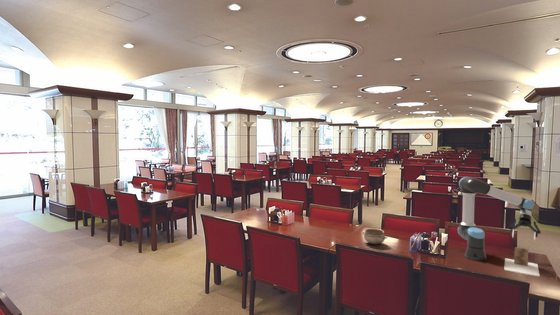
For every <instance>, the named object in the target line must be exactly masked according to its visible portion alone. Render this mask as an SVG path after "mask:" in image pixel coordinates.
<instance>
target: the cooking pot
mask: <svg viewBox="0 0 560 315" xmlns="http://www.w3.org/2000/svg"><path fill="white" fill-rule="evenodd" d="M361 234H362V235H363V238H364V240H365V241H366V242H367V243H369V244H370V245H373V246H378V245H380V244H382V243H384V241H385V239H388V237H387V236H386V235H385V231H384V230H382V229H380V228H366V229H364V231H362V232H361Z"/></svg>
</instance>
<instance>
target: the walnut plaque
mask: <svg viewBox="0 0 560 315" xmlns="http://www.w3.org/2000/svg"><path fill="white" fill-rule="evenodd" d="M513 254H514V255H513V256H514V258H513V260H514V264H519V265H524V266H528V262H529V249H528V248H523V247H517V246H515V247H514V252H513Z"/></svg>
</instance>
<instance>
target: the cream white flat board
mask: <svg viewBox="0 0 560 315" xmlns="http://www.w3.org/2000/svg"><path fill="white" fill-rule="evenodd" d="M503 268H504V270H503V271H506V272H512V273H516V274H521V275H525V276H526V275H527V276H532V277H537V278H540V277H541V276H540V271H539V270H540V269H539V266H538V263H534V262H529V261H528V266H524V265H519V264H514V259H511V258H504V266H503Z"/></svg>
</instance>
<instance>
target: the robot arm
mask: <svg viewBox="0 0 560 315" xmlns="http://www.w3.org/2000/svg"><path fill="white" fill-rule="evenodd" d="M458 186H459V188H460V193H461V194H462V219H461V222H460V223H459V226H458V227H457V233H458V235H459V236H460V237H461V238H462V239H464V240H465V241H467V247H466V249H465V252H464V257H465V258H467V259H469V260H473V261H477V262H478V261H479V262H480V261H482V262H485V261H486V260H487V257H488V256H487V254H486V250H485V237H486V235H485V233H486V232H485V231H484V229H482V228H479V227H477V225H476V224H475V200H476V199H475V198H476V197H475V195H477V194H480V195H484V196H487V195H488V196H490V197H492V198H496V199H498V200H501V201H504V202H506V203H509V204H511V205H513V206H514V207H517V209H519V218H518V220H517V219H514V220H513V222H512V223H510V225H509V226H508V230H510V234H511V238H512V239H513V238H514V236H515V235H514V234H515V230H516V229H517V228H520V227H525V228H526V227H528V228H529V229H530V230H532V231H533V242H536V238H538V235H539V234H541V230H540V228H539V227H538V225H537V223H536V221H532V211H533V210H532V209H533V208H535V203H534V201H533V200H531V199H527V198H525V197H522V196H519V195H517V194H515V193H511V192H508V191H505V190H503V189H500V188H497V187H495V186H493V185H491V184H490V183H487V182H485V181H483V180H481V179H478V178H477V177H475V178H474V177H471V176H464V177H462V178H460V180H459V181H458ZM532 225H533V226H532Z"/></svg>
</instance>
